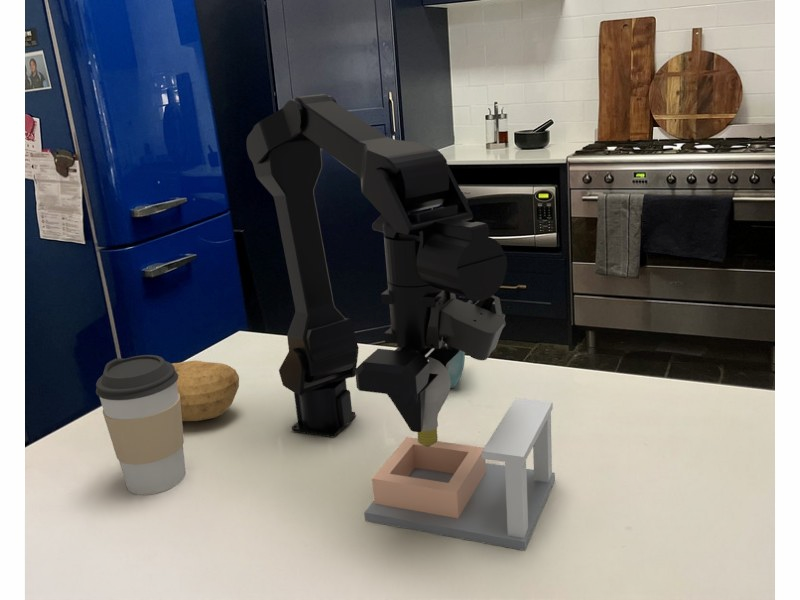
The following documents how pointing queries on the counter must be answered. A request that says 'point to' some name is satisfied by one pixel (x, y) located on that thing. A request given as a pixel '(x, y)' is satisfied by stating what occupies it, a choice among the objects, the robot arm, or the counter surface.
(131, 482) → the coffee cup
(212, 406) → the potato
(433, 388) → the light bulb
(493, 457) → the socket stand
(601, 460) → the counter surface
